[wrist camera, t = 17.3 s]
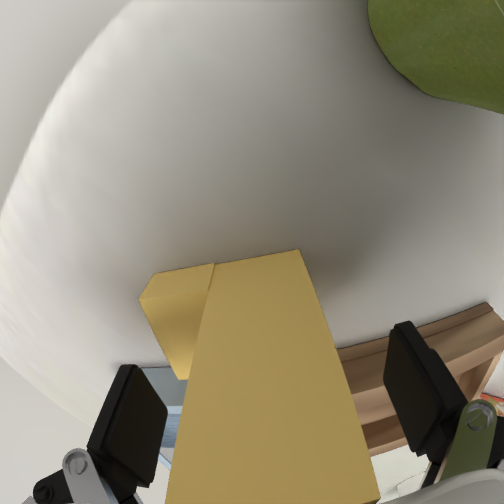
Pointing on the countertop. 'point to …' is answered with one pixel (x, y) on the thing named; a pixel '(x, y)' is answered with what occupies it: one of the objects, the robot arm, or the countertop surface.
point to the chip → (170, 436)
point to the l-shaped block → (257, 387)
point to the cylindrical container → (410, 485)
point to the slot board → (451, 352)
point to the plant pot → (445, 47)
